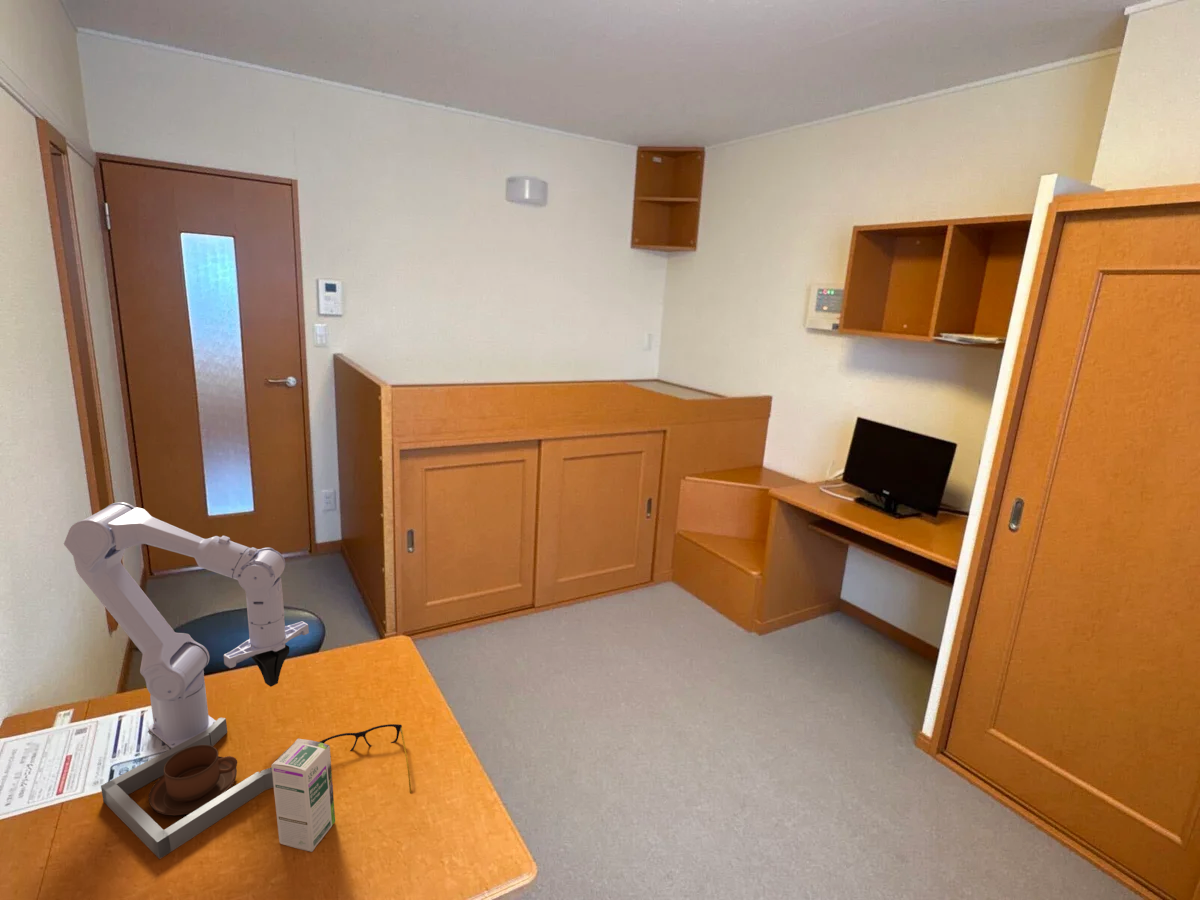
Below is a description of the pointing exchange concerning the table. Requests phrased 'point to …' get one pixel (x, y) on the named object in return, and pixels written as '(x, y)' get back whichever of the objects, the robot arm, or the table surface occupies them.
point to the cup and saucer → (192, 780)
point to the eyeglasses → (362, 734)
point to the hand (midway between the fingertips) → (271, 683)
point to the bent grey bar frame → (195, 821)
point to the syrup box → (303, 794)
